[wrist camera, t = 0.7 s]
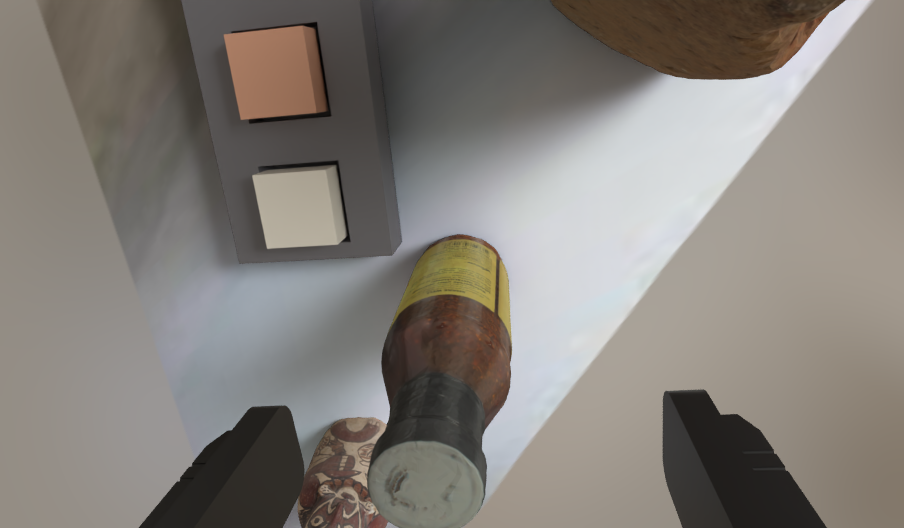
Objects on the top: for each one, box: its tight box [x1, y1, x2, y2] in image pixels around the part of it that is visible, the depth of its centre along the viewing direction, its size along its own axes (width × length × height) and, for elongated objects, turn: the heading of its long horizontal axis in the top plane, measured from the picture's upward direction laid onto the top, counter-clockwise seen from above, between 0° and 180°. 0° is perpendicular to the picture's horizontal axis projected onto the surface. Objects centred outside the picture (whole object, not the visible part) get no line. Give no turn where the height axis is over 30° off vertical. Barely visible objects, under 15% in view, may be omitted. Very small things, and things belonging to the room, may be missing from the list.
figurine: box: [298, 417, 388, 528], centre depth 37 cm, size 7×7×12 cm
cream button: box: [252, 165, 348, 249], centre depth 33 cm, size 4×4×2 cm
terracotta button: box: [224, 26, 328, 120], centre depth 30 cm, size 4×4×2 cm
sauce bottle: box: [367, 234, 512, 528], centre depth 27 cm, size 7×6×20 cm
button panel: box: [181, 0, 402, 264], centre depth 32 cm, size 22×10×3 cm, turn 5°
